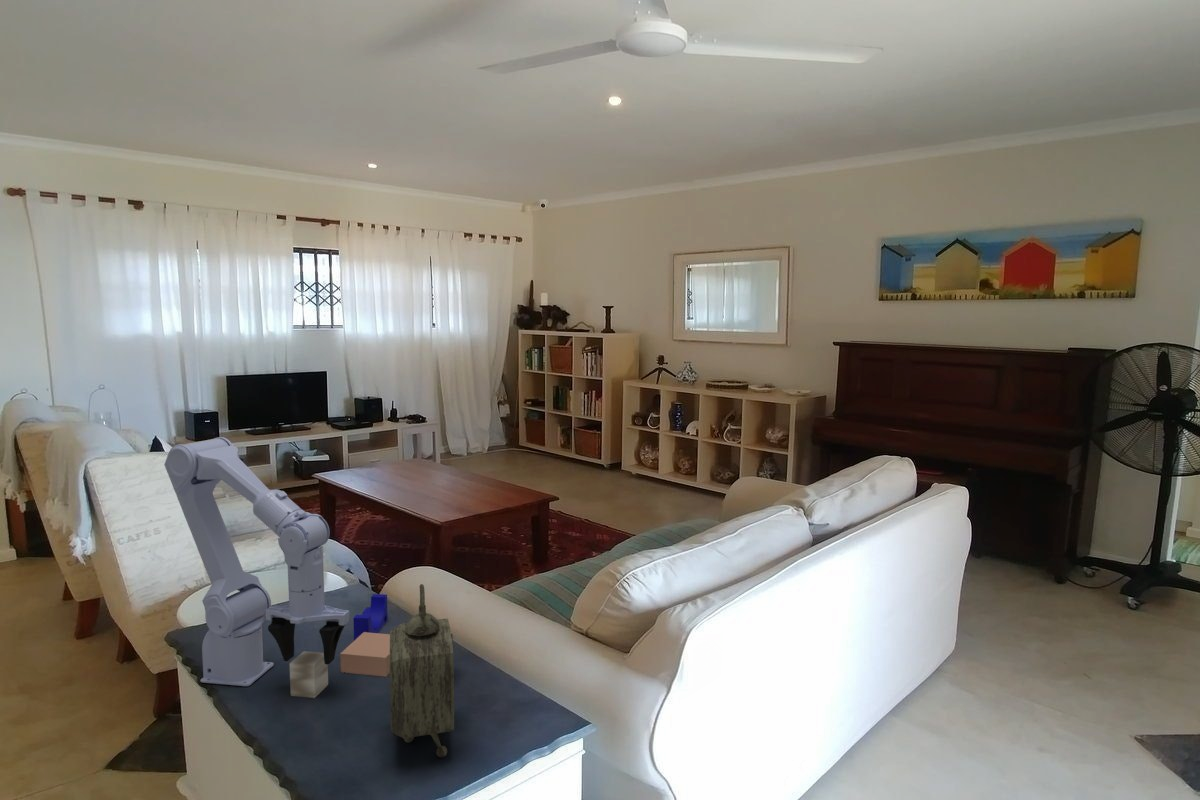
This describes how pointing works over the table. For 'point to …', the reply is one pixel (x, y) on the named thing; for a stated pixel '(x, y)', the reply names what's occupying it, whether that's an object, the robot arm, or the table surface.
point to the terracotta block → (367, 655)
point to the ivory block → (308, 674)
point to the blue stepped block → (372, 616)
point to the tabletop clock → (422, 677)
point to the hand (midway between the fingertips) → (309, 660)
